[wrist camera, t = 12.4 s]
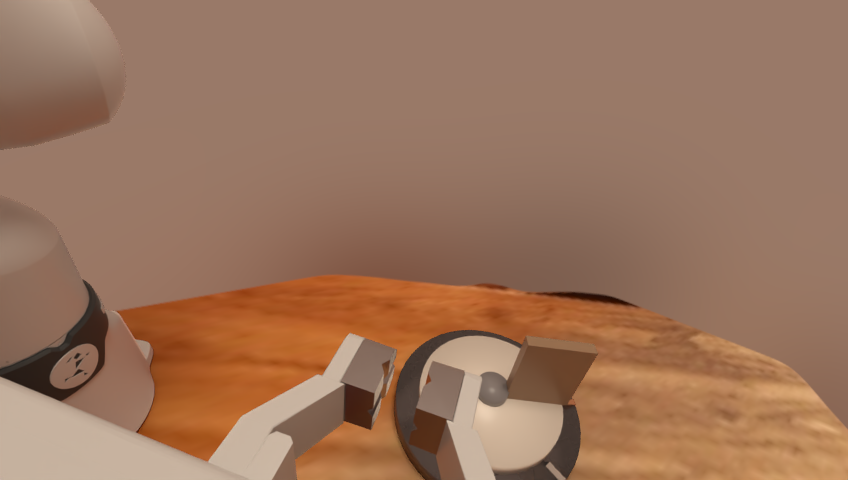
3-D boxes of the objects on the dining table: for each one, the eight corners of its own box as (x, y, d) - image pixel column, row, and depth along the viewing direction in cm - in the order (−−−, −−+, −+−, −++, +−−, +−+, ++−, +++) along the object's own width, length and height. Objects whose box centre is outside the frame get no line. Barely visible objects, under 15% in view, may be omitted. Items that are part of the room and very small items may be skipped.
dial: (414, 465, 38) (429, 403, 32) (421, 336, 51) (433, 275, 45) (580, 483, 39) (626, 426, 33) (546, 351, 52) (574, 293, 46)
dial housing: (364, 467, 39) (365, 456, 38) (423, 321, 56) (425, 311, 55) (577, 549, 36) (585, 540, 35) (572, 368, 53) (578, 358, 52)
